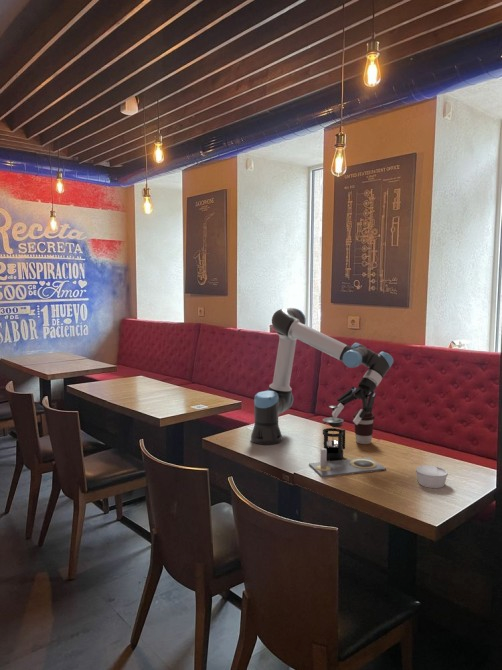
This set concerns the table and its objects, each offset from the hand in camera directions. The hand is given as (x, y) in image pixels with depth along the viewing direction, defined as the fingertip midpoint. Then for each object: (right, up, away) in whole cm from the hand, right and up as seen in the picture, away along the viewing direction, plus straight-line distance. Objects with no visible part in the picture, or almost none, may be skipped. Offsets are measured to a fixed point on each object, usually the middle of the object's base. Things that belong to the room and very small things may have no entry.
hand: (344, 419), depth 215 cm
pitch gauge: (-1, -18, -13) cm, 22 cm away
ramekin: (+27, -19, -30) cm, 45 cm away
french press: (-5, -17, 0) cm, 17 cm away
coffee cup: (+13, -15, +21) cm, 29 cm away
